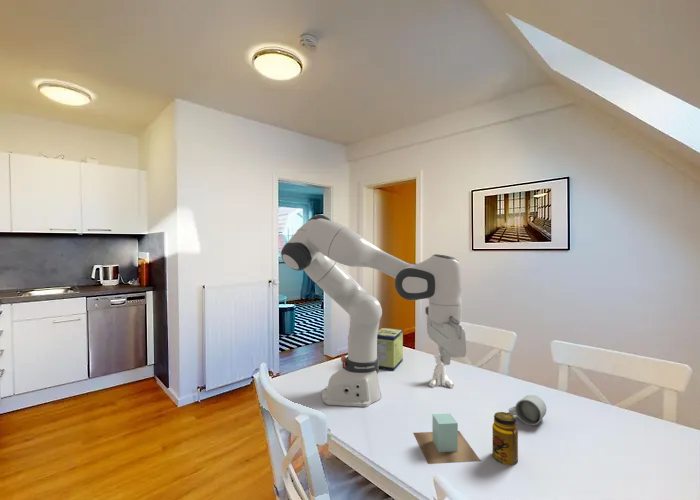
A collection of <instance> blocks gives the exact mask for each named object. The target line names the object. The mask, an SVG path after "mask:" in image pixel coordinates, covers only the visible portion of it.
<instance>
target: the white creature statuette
mask: <svg viewBox="0 0 700 500" xmlns="http://www.w3.org/2000/svg"><path fill="white" fill-rule="evenodd" d="M433 357H434V358H435V359H434V360H435V363H436V365H435V367H434V369H433V370H434V372H433V374H432V378H431V379H430V381H429V384H428V385H429V386H430V387H431V388H434V387H447V388H450V389H453V388H454V387H455V385H454V383H453V381H452V380H451V379H450V378H449V377H448V374H447V368H446V367H445V366H446V365H444V364H443V363H442V362H441V361H440V353H439V354H437V355H436V354H433Z"/></svg>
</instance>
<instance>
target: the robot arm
mask: <svg viewBox="0 0 700 500" xmlns="http://www.w3.org/2000/svg"><path fill="white" fill-rule="evenodd" d="M280 256H281V259H282V261H283V262H284V264H286V266H287V267H289V269H292V270H294V271H299V272H300V271H304V272H305V274H306V275H307V276H308V277H309V279H310V280H312V282H314V284H316V285H317V286H318V288H320V289H321V290H322V291H323V292H324V293H325V294H326V295H327V296H329V298H331V299H332V300H333V301H334V302H335V303H336V304H338V306H340V307H341V308H342V310H344V311H345V312H346V313H347V314H348V315H349V317H350V318H349V319H350V320H349V321H350V323H349V329H348V330H349V331H348V336H347V357H346V356H345V355H342V356H341V357H340V361H341V363H342V367H341V368H339V370H337V371H335V373H333V374H331V376H329V377H330V378H329V380H328V384H327V386H325V387H324V388H323V389H322V390H321V391H322V392H321V400H322V402H323V403H324V404H325V405H329V406H345V407H346V406H347V407H361V408H362V407H365V408H367V407H369V406H370V405H371V404H372V403H374V402H377V401H379V400H380V399H381V398H382V392H381V388H380V384H379V375H378V373H379V364H378V358H377V334H378V331H379V330H380V329H379V328H380V321H381V318H382V315H383V309H382V306H381V303H380V301H379V300H378V299H377V298H376V297H375V296H373V295H371V294H370V293H369V292H367V291H366V290H365V289H364V288H363V287H362V286H361V285H360V284H359V283H358V282H357V281H356V280H355V279H354V277H352V275H351V274H349V273H348V272H347V270H346V269H345V268H343V267H342V266H341V265H344V266H347V267H350V268H351V267H352V268H353V267H354V268H357V267H359V268H370V269H374V270H377V271H380V272H381V273H383V274H385V275H387V276H390V277H391V278H393V279H394V288H395V290H396V293H397V294H398V295H399V296H400V297H401V298H403V300H408V301H418V300H424V299H428V306H426V307H425V308H424V309H425V310H424V313H425V315H426V330H427V335H428V338H429V339H430V340H432V341H433V342H434V343H435V344H436V345H437V346H438V348H437V349H438V353H439V354H440V361H441V362H442V363H443V364H444V365H445V366H448V365H450V364H451V358H453V359H454V358H458V359H459V358H465V357H466V355H467V338H466V335H467V334H466V331H465V328H464V326H462V325H461V322H462V321H463V300H462V296H461V294H462V289H463V273H462V266H461V263H460V261H459V260H458V259H457V258H455V257H453V256H451V255H444V254H433V255H431V256H430V257H428V258H427V259H425V260H423V261H421V262H418V263H411V262H409V261H406V260H403V259H400V258H398V257H397V256H395V255H392V254H391V253H389V252H386V251H384V250H382V249H381V248H379V247H378V246H376V245H375V244H373V243H372V242H370V241H369V240H368V239H366V238H365V237H363V236H362V235H360V234H359V233H358V232H355V231H354V230H352V229H350V228H349V227H347V226H345V225H343V224H340V223H338V222H335V221H333V220H331V219H330V218H329V217H327V216H325V215H323V214H315V215H314V216H312V217H310V218H309V219H308V221H306V222H305V223H304V224H302V225H301V227H300V226H299V228H298V229H297V230H296V232H295V233H294V234H293V235H292V236H291V238H290V239H289V240H288V241H287V242H286V243H285V244H284V245H283V246H282V249H281V252H280ZM340 264H341V265H340Z"/></svg>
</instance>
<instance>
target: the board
mask: <svg viewBox="0 0 700 500" xmlns="http://www.w3.org/2000/svg"><path fill="white" fill-rule="evenodd" d="M413 435H414V438H415V439H416V442H417V444H418V446H419V448H420V450H421V452H422V454H423V456H424V459H425V461H426V463H427V464H428V465H432V464H434V465H435V464H450V463H454V464H455V463H470V462H473V463H475V462H481V461H482V460H481V459H480V458H479V456H478V455H477V454H476V452H475V451H474V449H473V448H472V447H471V445H470V444H469V442H468V441H467V439H466V438H465V437H464V436H463V434H462V433H461V432H460V430H458V451H450V452H438V450H437V448H436V446H435V444H434V442H433V431H424V432H421V431H419V432H413Z"/></svg>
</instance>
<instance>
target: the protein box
mask: <svg viewBox="0 0 700 500" xmlns="http://www.w3.org/2000/svg"><path fill="white" fill-rule="evenodd" d="M403 331H404V330H403V329H401V328H400V329H399V328H390V327H382V328H380V329H378V334H377V358H378V364H379V369H380V370H385V371H386V370H387V371H392V372H394V371H395V370H396V369H397V368H398V367H399V366H400V364H401V363H402V362H403V355H404V354H403V352H404V351H403V347H404V346H403V345H404V344H403V343H404V338H403V337H404V336H403V335H404V333H403ZM379 369H378V370H379Z"/></svg>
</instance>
